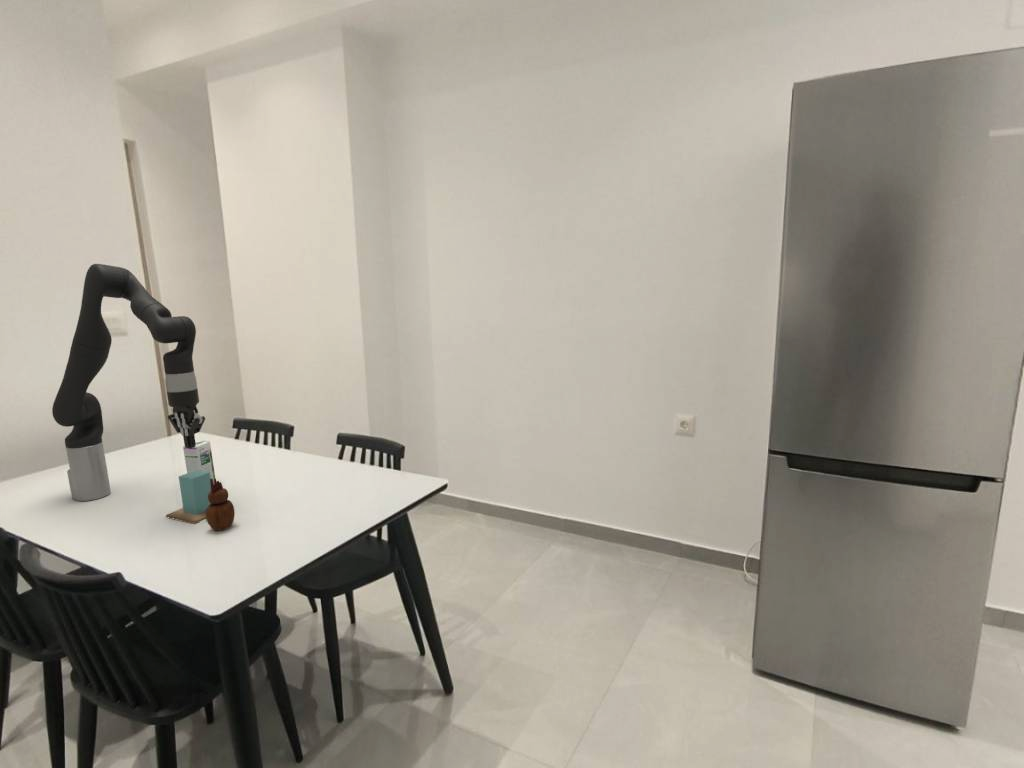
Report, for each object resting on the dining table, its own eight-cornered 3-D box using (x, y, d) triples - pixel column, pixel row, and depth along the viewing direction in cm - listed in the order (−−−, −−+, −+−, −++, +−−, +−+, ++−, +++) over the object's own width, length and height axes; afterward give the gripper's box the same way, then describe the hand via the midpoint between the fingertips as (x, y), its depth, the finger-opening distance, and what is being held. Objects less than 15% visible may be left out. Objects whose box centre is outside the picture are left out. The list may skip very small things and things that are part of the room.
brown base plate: (194, 524, 156) (191, 497, 155) (166, 517, 161) (162, 492, 159) (231, 507, 167) (228, 482, 165) (203, 501, 172) (200, 477, 170)
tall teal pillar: (197, 515, 160) (191, 478, 158) (183, 512, 162) (178, 476, 160) (214, 507, 165) (209, 472, 163) (201, 505, 167) (196, 470, 165)
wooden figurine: (216, 535, 149) (209, 482, 146) (204, 530, 152) (197, 478, 149) (240, 525, 154) (233, 474, 152) (228, 521, 157) (221, 470, 155)
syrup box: (203, 488, 183) (198, 445, 180) (188, 487, 184) (182, 445, 181) (216, 482, 188) (210, 440, 186) (201, 481, 190) (195, 440, 187)
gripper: (210, 387, 157) (218, 446, 161) (178, 384, 163) (186, 441, 166) (185, 392, 151) (194, 453, 154) (153, 389, 156) (162, 448, 159)
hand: (190, 447), depth 160 cm, fingers closed
